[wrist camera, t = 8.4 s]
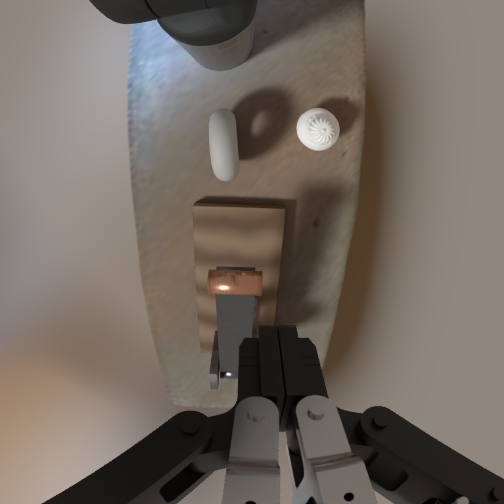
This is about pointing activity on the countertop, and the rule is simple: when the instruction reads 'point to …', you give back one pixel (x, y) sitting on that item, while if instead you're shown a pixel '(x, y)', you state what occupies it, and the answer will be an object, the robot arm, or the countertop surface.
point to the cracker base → (236, 261)
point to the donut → (224, 144)
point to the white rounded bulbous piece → (318, 129)
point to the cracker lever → (233, 311)
